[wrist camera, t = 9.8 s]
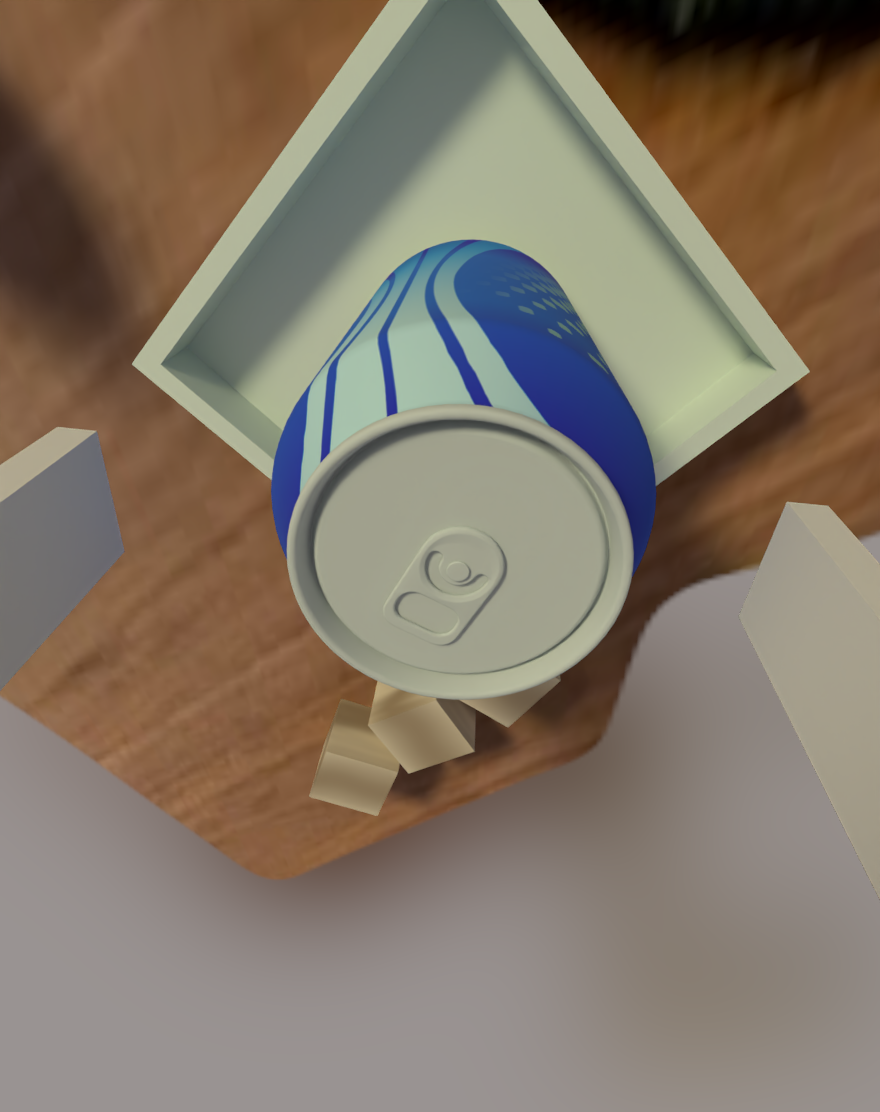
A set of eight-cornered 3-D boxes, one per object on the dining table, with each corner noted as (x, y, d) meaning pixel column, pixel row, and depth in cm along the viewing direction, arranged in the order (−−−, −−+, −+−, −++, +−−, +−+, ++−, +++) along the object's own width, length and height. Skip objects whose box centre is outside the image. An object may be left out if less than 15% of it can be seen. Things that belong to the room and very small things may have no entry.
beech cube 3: (341, 697, 38) (326, 751, 34) (406, 717, 38) (398, 772, 35) (324, 741, 40) (309, 796, 36) (386, 760, 40) (377, 816, 37)
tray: (466, -69, 20) (462, -103, 17) (777, 349, 26) (809, 371, 23) (166, 343, 27) (131, 364, 25) (460, 595, 33) (457, 634, 30)
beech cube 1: (492, 588, 33) (492, 639, 29) (554, 627, 34) (560, 680, 30) (447, 637, 35) (442, 690, 31) (506, 672, 36) (508, 727, 32)
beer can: (328, 285, 25) (146, 451, 11) (541, 196, 23) (630, 266, 9) (411, 474, 29) (352, 763, 15) (599, 412, 27) (719, 680, 13)
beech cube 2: (441, 647, 35) (435, 700, 32) (476, 696, 37) (474, 751, 33) (379, 672, 36) (367, 725, 33) (416, 718, 38) (408, 773, 35)
